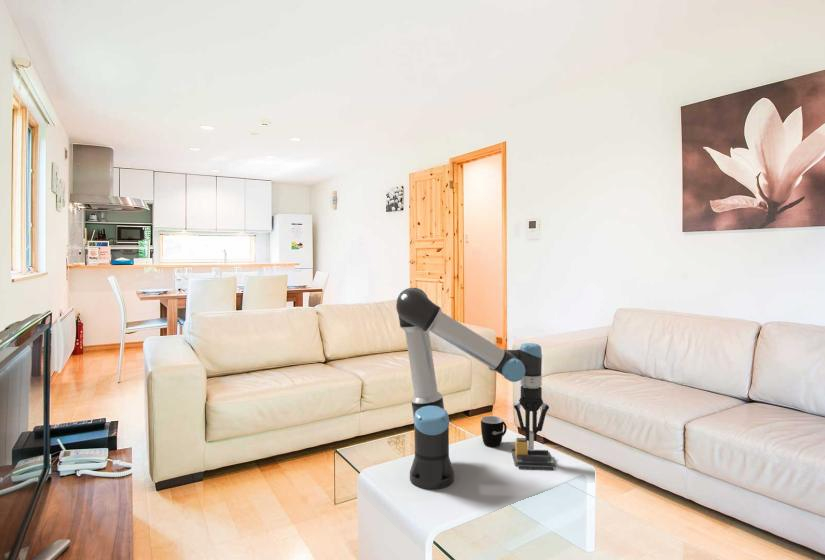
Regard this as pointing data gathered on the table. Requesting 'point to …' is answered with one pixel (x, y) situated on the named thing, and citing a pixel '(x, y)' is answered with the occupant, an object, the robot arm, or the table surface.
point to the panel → (534, 458)
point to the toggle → (521, 446)
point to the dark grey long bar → (536, 467)
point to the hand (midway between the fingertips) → (531, 449)
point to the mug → (492, 430)
